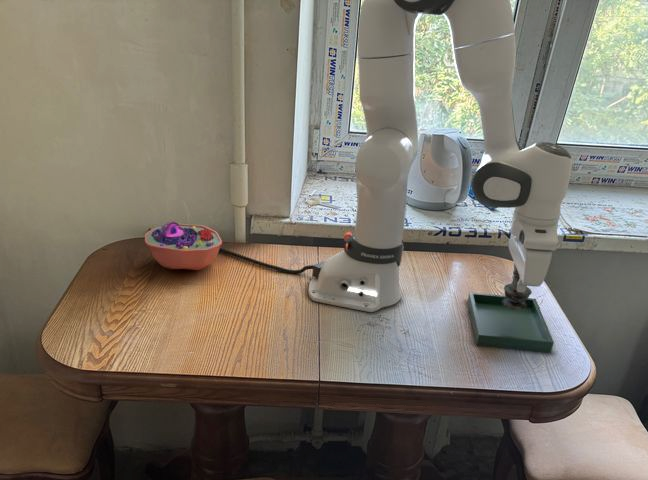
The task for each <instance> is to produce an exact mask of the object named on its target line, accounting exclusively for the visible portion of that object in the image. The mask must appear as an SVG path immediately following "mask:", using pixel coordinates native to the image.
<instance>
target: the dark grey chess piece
mask: <svg viewBox="0 0 648 480" xmlns="http://www.w3.org/2000/svg"><path fill="white" fill-rule="evenodd" d="M513 271H514V270H513ZM513 271H512V275H513V274H514V277H513V279H512V281H511V283H508V284H505V285H504V286H503V291H504V296H506V298H505V299H503V300H502V304H503V305H504V306H505V307H507V308H510V309H514V310H522V309H525V308H526V306H527V305H526V303H525V302H524V301H526V300H527V298H530V296H531V295H532V293H533V292H532V289H531V288H529V286H527V287H526V291H525V292H524V293H521V292H517V289H516V286H517V282H519V279H520V277H519V276H520V275H519V273H518V270H517V268H516V271H514V272H513Z"/></svg>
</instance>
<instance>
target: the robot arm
mask: <svg viewBox="0 0 648 480" xmlns="http://www.w3.org/2000/svg"><path fill="white" fill-rule="evenodd" d="M423 15H433V16H442V15H443V16H444V18H445V20H446V21H447V24H448V26H449V32H450V38H451V47H452V55H453V61H454V66H455V70H456V73H457V76H458V79H459V83H460V85H461V87H462V88H464V89H465V90H466V91H467V92H468V93H469V94H470V95H471V96H472V97H473V98H474V99H475V101H476V104H477V106H478V109H479V114H480V123H481V129H482V134H483V135H482V136H483V143H484V148H483V152H482V153H483V154H482V156H481V160H480V162H479V165H478V167H477V168H476V171H475V173H474V175H473V177H472V179H471V191H472V194H473V197H474V198H475V199H476V200H477V202H479V203H480V204H481V205H483V206H485V207H489V208H496V209H497V208H498V209H499V208H500V209H503V208H504V209H505V208H506V209H508V208H510V209H511V208H514V210H513V213H512V219H511V223H510V228H509V232H510V237H509V241H508V251H509V253H510V255H511V258H512V261H513V271H512V276H511V279H512V280H513V277H514V274H513V272H514V271H516V268H517V270H518V273H519V275H520V276H519V277H520V279H519V282H517V286H516V289H517V292H521V293H524V292H525V291H526V287H535V288H539V287H541V286H542V285H543V284H544V281H545V280H546V276H547V273H548V270H549V268H550V264H551V261H552V257H553V251H557V249H558V246H559V237H558V227H559V220H560V217H561V205H562V202H563V201H564V199H565V197H566V195H567V191H568V188H569V183H570V180H571V176H572V167H573V159H572V156H571V153H570V152H569V151H568V150H567V149H566V148H564V147H563V146H562V145H561V146H560V145H559V144H555V143H553V142H547V141H537V142H534V144H532V145H530V146H527V147H525V148H522V146H521V145H520V144H519V141H518V139H517V135H516V128H515V118H514V110H513V100H512V93H513V92H512V91H513V84H514V76H515V68H516V52H517V51H516V45H517V44H516V30H515V21H514V16H513V9H512V4H511V0H363V1H362V4H361V7H360V13H359V21H358V31H357V32H358V33H357V61H358V66H357V67H358V84H359V85H358V86H359V101H360V103H361V106H362V110H363V116H364V122H365V127H366V137H365V141H364V142H363V143H362V144H361V145H360V146H359V149H358V151H357V154H356V158H355V163H354V164H355V165H354V169H355V170H354V172H355V185H356V186H355V187H356V214H355V226H354V233H352V232H351V231H346V232H344V235H343V241H344V247H343V249H342V250H341V251H339V252H338V253H336V254H334V255H332V256H330V257H328V258H327V259H326V260H324V261H321V262H318V263H316V264H310V265H305V266H302V268H300V269H289V268H288V269H287V268H285V267H281V266H277V265H274V264H269V263H266V262H262V261H260V260H257V259H254V258H251V257H249V256H245V255H243V254H240V253H238V252H235V251H231V250H229V249H227V248H223V247H222V246H221V247H220V249H219V252H221V253H225V254H228V255H229V256H233V257H235V258H238V259H240V260H244V261H246V262H249V263H251V264H255V265H257V266H261V267H264V268H267V269H271V270H275V271H279V272H281V273H285V274H289V275H290V274H291V275H299V274H303V273H304V272H306V271H307V270H312V278H311V279H310V281H309V284H308V291H307V293H308V296H309V298H310V299H311V300H312V301H313V302H317V303H321V304H327V305H331V306H337V307H342V308H347V309H353V310H357V311H363V312H367V313H374V312H377V311H379V310H381V309H383V308H386V307H390V306H393V305H395V304H396V303H398V302H400V300H401V298H402V293H401V287H400V266H401V263H402V260H403V253H404V240H403V236H404V229H405V222H406V216H407V196H408V195H407V193H408V181H409V175H410V171H411V168H412V165H413V163H414V162H415V160H416V158H417V156H418V152H419V136H418V135H419V133H418V119H417V117H418V116H417V106H416V99H415V94H416V93H415V71H416V70H415V69H416V68H415V65H416V64H415V61H416V60H415V50H416V49H415V34H416V25H417V24H418V20H419V18H420V17H421V16H423ZM151 229H152V228H148V229H147V232H148V231H150V230H151Z"/></svg>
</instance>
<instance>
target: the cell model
mask: <svg viewBox="0 0 648 480" xmlns="http://www.w3.org/2000/svg"><path fill="white" fill-rule="evenodd" d="M150 229H151V230H150V231H148V230H147V232H146V233H145V234H144V242H145V244H146V245H147V247H148V250H149V252H150V255H151V256H152V258H153V259H154V260H155V261H156V262H157V263H158V264H159V265H160V266H161V267H162V268H165V269H170V270H177V271H178V270H191V271H201V270H203V269H205V268H206V267H208V266H209V265H211V264H212V263H213V262H214V261H215V260H216V258H217V256H218V254H219V252H220V251H219V249H220V247H221V248H222V244H223V240H222V238H221V237H220V234H219V233H218V232H217V231H216V230H214V229H213V228H210V227H208V226H207V225H203V224H189V223H188V224H187V223H185V224H184V223H178V222H175V221H169V222H167V223H164V224H162V225H157V226H155V227H153V228H150Z"/></svg>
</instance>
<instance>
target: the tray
mask: <svg viewBox="0 0 648 480" xmlns="http://www.w3.org/2000/svg"><path fill="white" fill-rule="evenodd" d="M505 298H506V296H505V295H502V294H491V293H480V292H469V293H468V296H467V300H466V301H467V302H466V303H467V306H468V311H469V316H470V321H471V324H472V326H471V327H472V330H473V334H474V335H473V336H474V339H475V340H474V341H475V345H476V346H481V347H492V348H501V349H502V348H503V349H512V350H521V351H522V350H523V351H531V352H540V353H551V352H552V349H553V347H554V344H555V341H554V340H553V337H552V334H551V332H550V330H549V328H548V326H547V323H546V320H545V318H544V316H543V313H542V311H541V308H540V306H539V303H538V301H537V298H532V297H528V298H527V300H526V301H524V302H525V303H526V305H527V306H526V308H525V309H522V310H514V309H510V308H507V307H505V306H504V305H503V304H502V300H503V299H505Z"/></svg>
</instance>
